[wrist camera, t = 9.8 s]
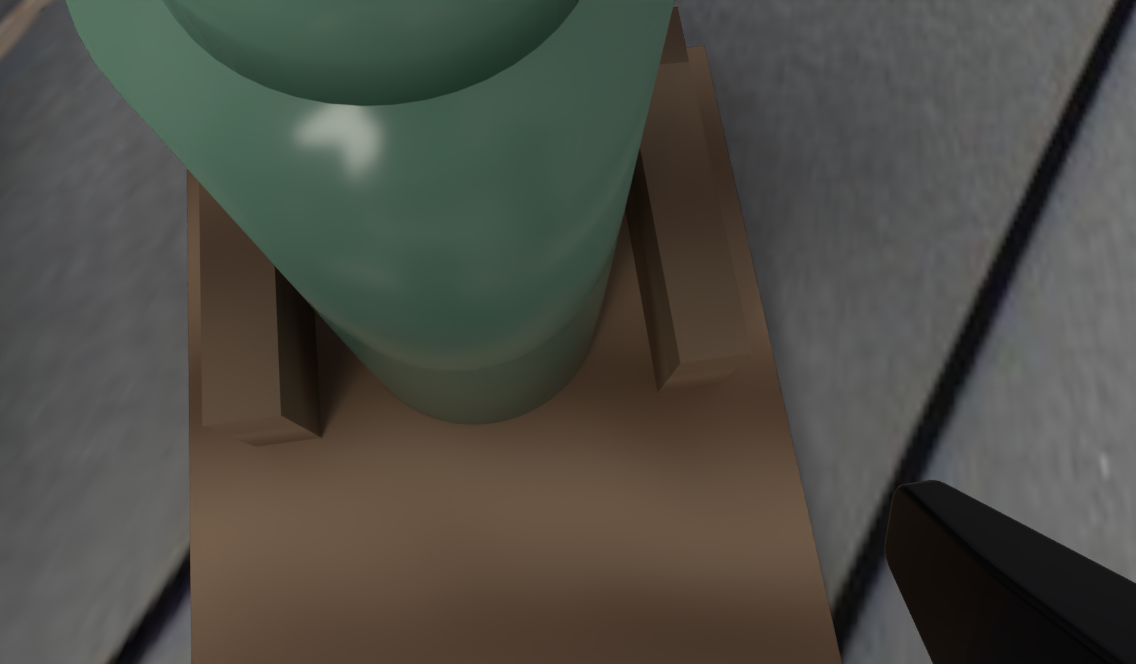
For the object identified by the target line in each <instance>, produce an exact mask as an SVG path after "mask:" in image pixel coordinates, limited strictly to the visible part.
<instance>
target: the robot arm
mask: <svg viewBox="0 0 1136 664" xmlns="http://www.w3.org/2000/svg"><path fill="white" fill-rule="evenodd" d="M885 554H886V559H887V562H888V565H889V568H890V570H891V572H892V574H893V577H894V579H895V581H896V583H897V585H898V588H899V590H900V592H901V594H902V596H903V599H904V601H905V603H906V605H907V607H908V610H909V612H910V614H911V616H912V618H913V621H914V623H915V625H916V627H917V629H918V632H919V634H920V636H921V638H922V640H923V643H924V645H925V647H926V649H927V651H928V654H929V656H930V658H931V660H932V662H933V664H1136V583H1134V582H1132V581H1130V580H1129V579H1127V578H1125V577H1123V576H1121V575H1119V574H1117V573H1115V572H1113V571H1111V570H1109V569H1108V568H1106V567H1104V566H1102V565H1100V564H1098V563H1096V562H1094V561H1092V560H1090V559H1088V558H1087V557H1085V556H1083V555H1081V554H1079V553H1077V552H1075V551H1073V550H1071V549H1069V548H1067V547H1066V546H1064V545H1062V544H1060V543H1058V542H1056V541H1054V540H1052V539H1050V538H1048V537H1046V536H1044V535H1043V534H1041V533H1039V532H1037V531H1035V530H1033V529H1031V528H1029V527H1027V526H1025V525H1023V524H1022V523H1020V522H1018V521H1016V520H1014V519H1012V518H1010V517H1008V516H1006V515H1004V514H1002V513H1001V512H999V511H997V510H995V509H993V508H991V507H989V506H987V505H985V504H983V503H981V502H980V501H978V500H976V499H974V498H972V497H970V496H968V495H966V494H964V493H962V492H960V491H959V490H957V489H955V488H953V487H951V486H949V485H947V484H945V483H943V482H940V481H937V480H927V481H921V482H914V483H908V484H903V485H900V486H898V487H897V488H896V490H895V491H894V493H893V497H892V502H891V508H890V514H889V520H888V526H887V532H886V538H885Z"/></svg>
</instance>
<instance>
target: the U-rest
mask: <svg viewBox="0 0 1136 664" xmlns="http://www.w3.org/2000/svg"><path fill="white" fill-rule="evenodd" d="M187 238H188V347H189V456H190V565H191V664H842V662H841V657H840V653H839V648H838V644H837V639H836V635H835V630H834V626H833V621H832V617H831V612H830V608H829V603H828V599H827V594H826V590H825V585H824V581H823V576H822V572H821V567H820V563H819V558H818V554H817V549H816V545H815V540H814V536H813V531H812V527H811V522H810V518H809V513H808V509H807V505H806V500H805V496H804V491H803V487H802V482H801V478H800V473H799V469H798V464H797V460H796V455H795V451H794V446H793V442H792V437H791V433H790V428H789V424H788V419H787V415H786V410H785V406H784V401H783V397H782V392H781V388H780V383H779V379H778V374H777V370H776V365H775V361H774V356H773V352H772V347H771V343H770V338H769V334H768V329H767V325H766V320H765V316H764V311H763V307H762V302H761V298H760V293H759V289H758V284H757V280H756V275H755V271H754V266H753V262H752V257H751V253H750V248H749V244H748V239H747V235H746V230H745V226H744V221H743V217H742V212H741V208H740V203H739V199H738V194H737V190H736V185H735V181H734V176H733V172H732V167H731V163H730V158H729V154H728V149H727V145H726V140H725V136H724V131H723V127H722V122H721V118H720V113H719V109H718V104H717V100H716V95H715V91H714V86H713V82H712V77H711V73H710V68H709V64H708V59H707V55H706V50H705V46H695V47H686V45H685V40H684V35H683V31H682V26H681V21H680V17H679V12H678V7H673V9H672V13H671V18H670V22H669V26H668V30H667V34H666V39H665V43H664V47H663V51H662V55H661V60H660V64H659V68H658V72H657V76H656V81H655V85H654V89H653V93H652V97H651V102H650V106H649V110H648V114H647V118H646V123H645V127H644V131H643V135H642V139H641V144H640V148H639V152H638V156H637V160H636V165H635V169H634V173H633V177H632V181H631V186H630V190H629V194H628V198H627V202H626V207H625V211H624V215H623V219H622V223H621V228H620V232H619V236H618V240H617V244H616V249H615V253H614V257H613V261H612V265H611V270H610V274H609V278H608V282H607V286H606V291H605V295H604V299H603V303H602V307H601V312H600V316H599V320H598V324H597V328H596V333H595V336H594V339H593V342H592V345H591V348H590V351H589V353H588V355H587V357H586V359H585V361H584V362H583V364H582V366H581V367H580V369H579V370H578V372H577V373H576V375H575V376H574V377H573V378H572V380H571V381H570V382H569V383H568V384H567V385H566V386H565V387H564V388H563V389H562V390H561V391H560V392H559V393H558V394H556V395H555V396H554V397H553V398H552V399H551V400H549V401H547V402H546V403H544V404H543V405H541V406H540V407H538V408H537V409H534V410H532V411H530V412H528V413H526V414H524V415H522V416H519V417H516V418H513V419H510V420H506V421H502V422H496V423H491V424H477V425H470V424H456V423H451V422H446V421H441V420H438V419H435V418H432V417H429V416H426V415H424V414H422V413H420V412H418V411H416V410H414V409H412V408H410V407H408V406H407V405H406V404H404V403H403V402H401V401H400V400H398V399H397V398H396V397H395V396H393V395H392V394H391V393H390V392H389V391H388V390H387V389H386V388H385V387H384V386H383V385H382V384H381V383H380V382H379V381H378V379H377V378H376V377H375V376H374V375H373V374H372V373H371V372H370V371H369V370H368V368H367V367H366V366H365V365H364V364H363V363H362V362H361V361H360V360H359V358H358V357H357V356H356V355H355V354H354V353H353V352H352V351H351V350H350V348H349V347H348V346H347V345H346V344H345V343H344V342H343V341H342V340H341V338H340V337H339V336H338V335H337V334H336V333H335V332H334V331H333V330H332V328H331V327H330V326H329V325H328V324H327V323H326V322H325V321H324V320H323V319H322V317H321V316H320V315H319V314H318V313H317V312H316V311H315V310H314V309H313V307H312V306H311V305H310V304H309V303H308V302H307V301H306V300H305V299H304V297H303V296H302V295H301V294H300V293H299V292H298V291H297V290H296V289H295V287H294V286H293V285H292V284H291V283H290V282H289V281H288V280H287V279H286V278H285V276H284V275H283V274H282V273H281V272H280V271H279V270H278V269H277V268H276V266H275V265H274V264H273V263H272V262H271V261H270V260H269V259H268V258H267V256H266V255H265V254H264V253H263V252H262V251H261V250H260V249H259V248H258V246H257V245H256V244H255V243H254V242H253V241H252V240H251V239H250V238H249V236H248V235H247V234H246V233H245V232H244V231H243V230H242V229H241V228H240V227H239V225H238V224H237V223H236V222H235V221H234V220H233V219H232V218H231V217H230V215H229V214H228V213H227V212H226V211H225V210H224V209H223V208H222V207H221V205H220V204H219V203H218V202H217V201H216V200H215V199H214V198H213V197H212V195H211V194H210V193H209V192H208V191H207V190H206V189H205V188H204V187H203V186H202V184H201V183H200V182H199V181H198V180H197V179H196V178H195V177H194V176H193V174H192V173H191V172H190V171H189V170H188V169H187Z"/></svg>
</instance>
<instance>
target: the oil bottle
mask: <svg viewBox="0 0 1136 664" xmlns="http://www.w3.org/2000/svg"><path fill="white" fill-rule="evenodd" d="M65 1H66V4H67V6H68V9H69V12H70V14H71V17H72V20H73V22H74V25H75V28H76V30H77V33H78V35H79V36H80V38H81V40H82V42H83V43H84V45H85V47H86V49H87V50H88V52H89V54H90V55H91V57H92V59H93V61H94V62H95V64H96V65H97V67H98V68H99V69H100V70H101V71H102V73H103V74H104V75H105V76H106V78H107V79H108V80H109V81H110V82H111V84H112V85H113V86H114V87H115V89H116V90H117V91H118V92H119V94H120V95H121V96H122V97H123V98H124V99H125V100H126V101H127V102H128V103H129V105H130V106H131V107H132V108H133V109H134V110H135V111H136V112H137V113H138V115H139V116H140V117H141V118H142V119H143V120H144V121H145V122H146V123H147V125H148V126H149V127H150V128H151V129H152V130H153V131H154V132H155V133H156V135H157V136H158V137H159V138H160V139H161V140H162V141H163V142H164V143H165V144H166V146H167V147H168V148H169V149H170V150H171V151H172V152H173V153H174V154H175V156H176V157H177V158H178V159H179V160H180V161H181V162H182V163H183V164H184V166H185V167H186V168H187V169H188V170H189V171H190V172H191V173H192V174H193V176H194V177H195V178H196V179H197V180H198V181H199V182H200V183H201V184H202V186H203V187H204V188H205V189H206V190H207V191H208V192H209V193H210V194H211V195H212V197H213V198H214V199H215V200H216V201H217V202H218V203H219V204H220V205H221V207H222V208H223V209H224V210H225V211H226V212H227V213H228V214H229V215H230V217H231V218H232V219H233V220H234V221H235V222H236V223H237V224H238V225H239V227H240V228H241V229H242V230H243V231H244V232H245V233H246V234H247V235H248V236H249V238H250V239H251V240H252V241H253V242H254V243H255V244H256V245H257V246H258V248H259V249H260V250H261V251H262V252H263V253H264V254H265V255H266V256H267V258H268V259H269V260H270V261H271V262H272V263H273V264H274V265H275V266H276V268H277V269H278V270H279V271H280V272H281V273H282V274H283V275H284V276H285V278H286V279H287V280H288V281H289V282H290V283H291V284H292V285H293V286H294V287H295V289H296V290H297V291H298V292H299V293H300V294H301V295H302V296H303V297H304V299H305V300H306V301H307V302H308V303H309V304H310V305H311V306H312V307H313V309H314V310H315V311H316V312H317V313H318V314H319V315H320V316H321V317H322V319H323V320H324V321H325V322H326V323H327V324H328V325H329V326H330V327H331V328H332V330H333V331H334V332H335V333H336V334H337V335H338V336H339V337H340V338H341V340H342V341H343V342H344V343H345V344H346V345H347V346H348V347H349V348H350V350H351V351H352V352H353V353H354V354H355V355H356V356H357V357H358V358H359V360H360V361H361V362H362V363H363V364H364V365H365V366H366V367H367V368H368V370H369V371H370V372H371V373H372V374H373V375H374V376H375V377H376V378H377V379H378V381H379V382H380V383H381V384H382V385H383V386H384V387H385V388H386V389H387V390H388V391H389V392H390V393H391V394H392V395H393V396H395V397H396V398H397V399H398V400H400V401H401V402H403V403H404V404H406V405H407V406H408V407H410V408H412V409H414V410H416V411H418V412H420V413H422V414H424V415H426V416H429V417H432V418H435V419H438V420H441V421H446V422H451V423H456V424H470V425H477V424H491V423H496V422H502V421H506V420H510V419H513V418H516V417H519V416H522V415H524V414H526V413H528V412H530V411H532V410H534V409H537V408H538V407H540V406H541V405H543V404H544V403H546V402H547V401H549V400H551V399H552V398H553V397H554V396H555V395H556V394H558V393H559V392H560V391H561V390H562V389H563V388H564V387H565V386H566V385H567V384H568V383H569V382H570V381H571V380H572V378H573V377H574V376H575V375H576V373H577V372H578V370H579V369H580V367H581V366H582V364H583V362H584V361H585V359H586V357H587V355H588V353H589V351H590V348H591V345H592V342H593V339H594V336H595V333H596V328H597V324H598V320H599V316H600V312H601V307H602V303H603V299H604V295H605V291H606V286H607V282H608V278H609V274H610V270H611V265H612V261H613V257H614V253H615V249H616V244H617V240H618V236H619V232H620V228H621V223H622V219H623V215H624V211H625V207H626V202H627V198H628V194H629V190H630V186H631V181H632V177H633V173H634V169H635V165H636V160H637V156H638V152H639V148H640V144H641V139H642V135H643V131H644V127H645V123H646V118H647V114H648V110H649V106H650V102H651V97H652V93H653V89H654V85H655V81H656V76H657V72H658V68H659V64H660V60H661V55H662V51H663V47H664V43H665V39H666V34H667V30H668V26H669V22H670V18H671V13H672V9H673V5H674V1H675V0H65Z"/></svg>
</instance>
